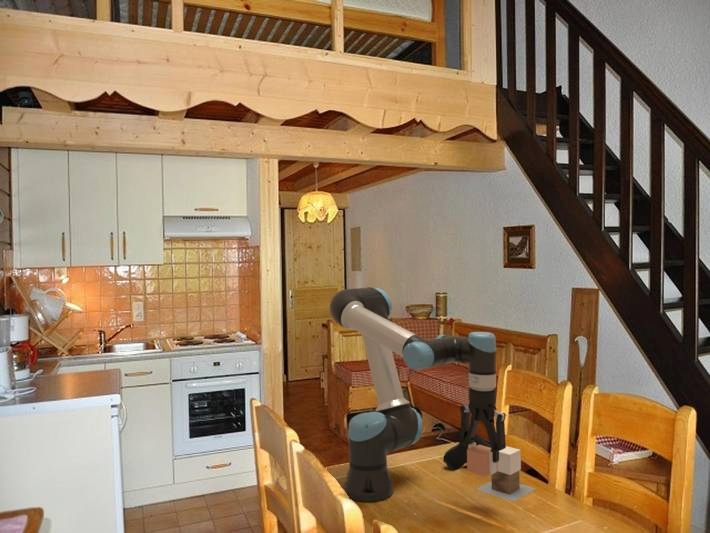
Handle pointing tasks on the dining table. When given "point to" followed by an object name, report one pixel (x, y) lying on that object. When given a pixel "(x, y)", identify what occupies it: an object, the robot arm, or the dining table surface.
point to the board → (512, 497)
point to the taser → (461, 453)
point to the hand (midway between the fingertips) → (482, 469)
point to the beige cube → (509, 460)
